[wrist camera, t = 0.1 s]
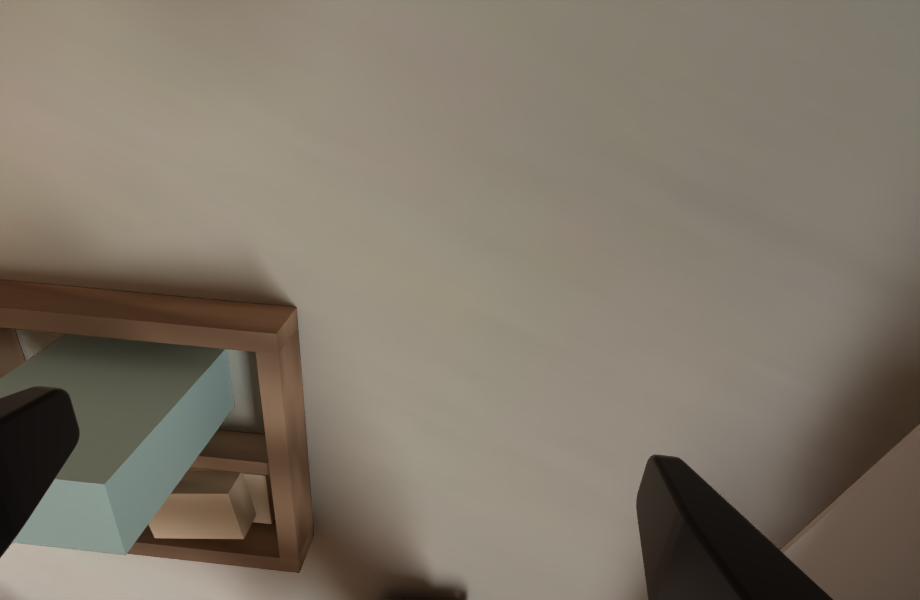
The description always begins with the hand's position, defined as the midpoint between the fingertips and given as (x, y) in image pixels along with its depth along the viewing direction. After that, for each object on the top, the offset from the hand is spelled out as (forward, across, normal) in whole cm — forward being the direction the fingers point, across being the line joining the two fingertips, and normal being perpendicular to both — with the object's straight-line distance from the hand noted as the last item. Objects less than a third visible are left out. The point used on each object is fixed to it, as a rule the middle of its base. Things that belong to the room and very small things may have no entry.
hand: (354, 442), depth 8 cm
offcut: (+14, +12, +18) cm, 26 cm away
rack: (+15, +14, +14) cm, 25 cm away
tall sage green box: (+16, +14, +11) cm, 24 cm away
